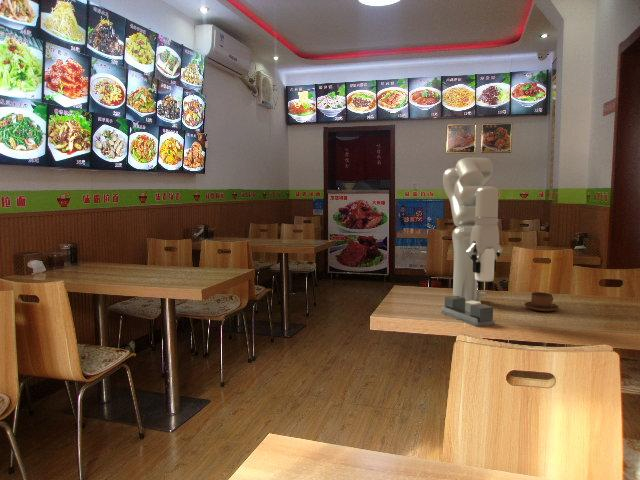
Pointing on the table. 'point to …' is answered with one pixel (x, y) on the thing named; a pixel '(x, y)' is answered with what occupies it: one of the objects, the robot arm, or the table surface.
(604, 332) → the table surface
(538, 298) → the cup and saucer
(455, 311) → the gray slotted holder
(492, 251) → the can
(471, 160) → the robot arm
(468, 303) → the block
